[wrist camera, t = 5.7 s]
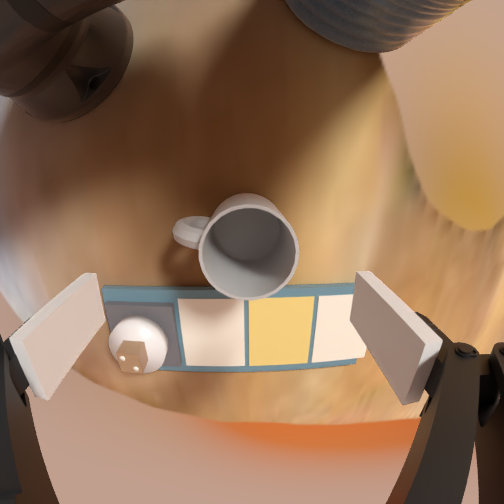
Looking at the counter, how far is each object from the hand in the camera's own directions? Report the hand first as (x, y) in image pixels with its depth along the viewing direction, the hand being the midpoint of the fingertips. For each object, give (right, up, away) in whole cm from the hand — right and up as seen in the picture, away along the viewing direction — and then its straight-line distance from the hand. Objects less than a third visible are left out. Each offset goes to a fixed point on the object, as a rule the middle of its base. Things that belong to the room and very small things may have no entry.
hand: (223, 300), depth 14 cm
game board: (0, -7, +19) cm, 20 cm away
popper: (-11, -7, +16) cm, 21 cm away
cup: (-1, +5, +16) cm, 17 cm away
